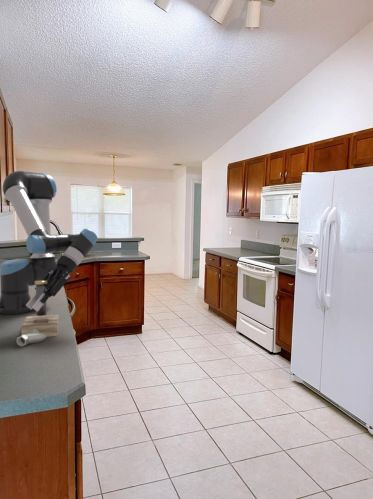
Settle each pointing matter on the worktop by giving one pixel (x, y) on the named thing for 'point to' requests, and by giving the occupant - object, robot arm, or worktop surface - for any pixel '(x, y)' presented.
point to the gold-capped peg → (39, 291)
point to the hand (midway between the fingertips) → (31, 308)
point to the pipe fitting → (31, 337)
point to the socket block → (41, 325)
